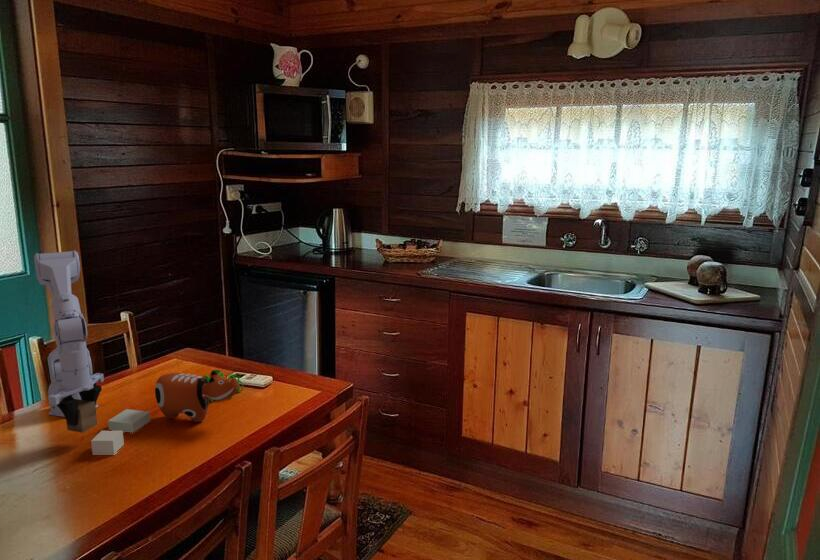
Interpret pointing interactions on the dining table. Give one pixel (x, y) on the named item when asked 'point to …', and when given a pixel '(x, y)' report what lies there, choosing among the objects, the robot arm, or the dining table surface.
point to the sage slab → (129, 420)
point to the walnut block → (84, 416)
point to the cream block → (107, 442)
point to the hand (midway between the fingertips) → (81, 419)
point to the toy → (192, 393)
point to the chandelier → (224, 377)
